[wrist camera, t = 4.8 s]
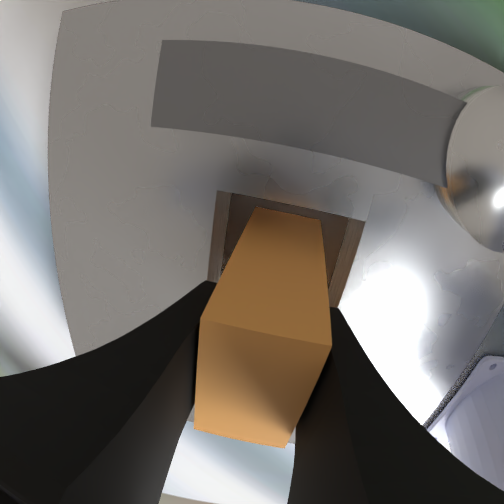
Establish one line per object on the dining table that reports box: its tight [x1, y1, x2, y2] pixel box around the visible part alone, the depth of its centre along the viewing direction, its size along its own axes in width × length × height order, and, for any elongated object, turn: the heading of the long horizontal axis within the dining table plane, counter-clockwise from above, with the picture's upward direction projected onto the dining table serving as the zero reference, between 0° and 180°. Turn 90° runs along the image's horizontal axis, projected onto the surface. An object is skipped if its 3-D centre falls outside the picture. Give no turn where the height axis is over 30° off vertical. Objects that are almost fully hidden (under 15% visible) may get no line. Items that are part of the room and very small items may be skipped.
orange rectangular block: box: [194, 207, 332, 448], centre depth 10 cm, size 2×4×7 cm, turn 172°
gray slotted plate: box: [48, 0, 504, 444], centre depth 11 cm, size 18×18×4 cm
